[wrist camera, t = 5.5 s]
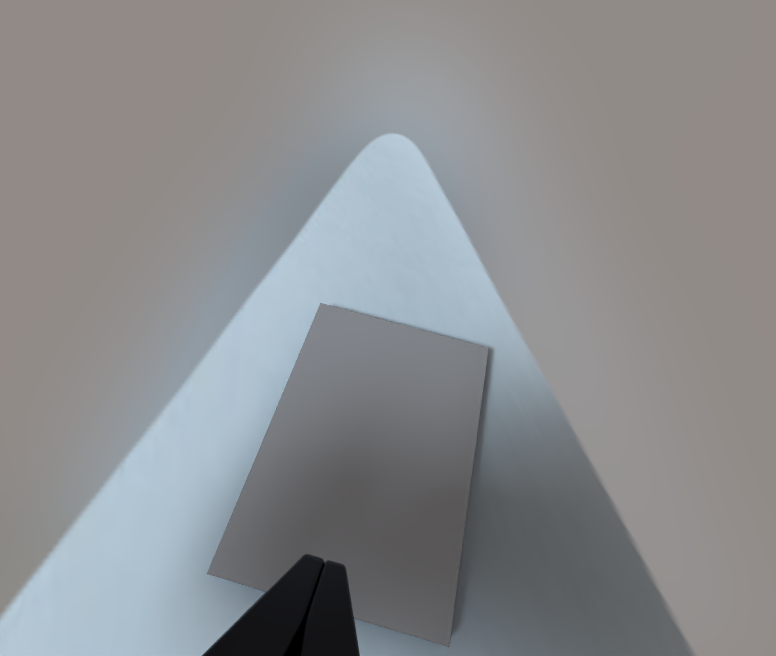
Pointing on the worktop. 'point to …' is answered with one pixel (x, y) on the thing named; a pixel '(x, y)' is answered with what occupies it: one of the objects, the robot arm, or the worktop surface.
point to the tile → (366, 470)
